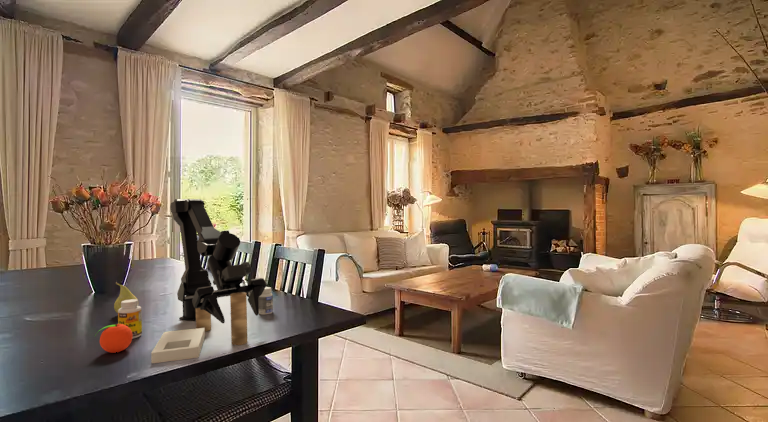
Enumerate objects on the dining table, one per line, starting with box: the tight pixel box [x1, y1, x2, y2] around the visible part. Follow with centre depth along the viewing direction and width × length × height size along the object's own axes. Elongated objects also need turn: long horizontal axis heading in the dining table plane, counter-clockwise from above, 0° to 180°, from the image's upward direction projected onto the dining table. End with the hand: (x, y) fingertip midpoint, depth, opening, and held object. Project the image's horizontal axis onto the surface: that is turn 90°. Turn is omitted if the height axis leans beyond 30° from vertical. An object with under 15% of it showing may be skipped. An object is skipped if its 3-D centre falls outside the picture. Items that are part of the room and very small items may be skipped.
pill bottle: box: [258, 286, 274, 315], centre depth 134 cm, size 5×5×8 cm
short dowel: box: [195, 308, 212, 333], centre depth 117 cm, size 4×4×7 cm
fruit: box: [113, 281, 139, 314], centre depth 134 cm, size 7×8×12 cm
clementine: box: [94, 323, 133, 354], centre depth 100 cm, size 8×7×7 cm
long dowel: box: [229, 292, 249, 346], centre depth 106 cm, size 4×4×13 cm
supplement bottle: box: [117, 298, 143, 340], centre depth 112 cm, size 6×6×10 cm
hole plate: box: [150, 327, 206, 364], centre depth 102 cm, size 16×10×2 cm, turn 19°
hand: (241, 318), depth 105 cm, fingers open, 9 cm apart
